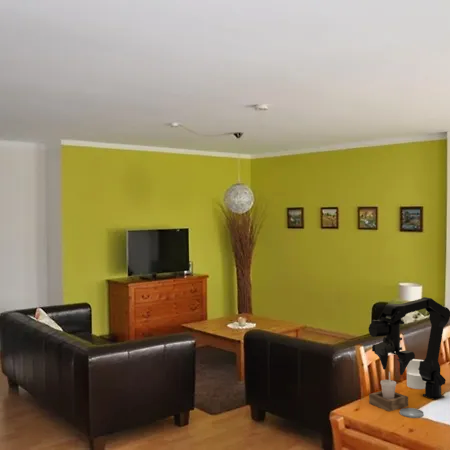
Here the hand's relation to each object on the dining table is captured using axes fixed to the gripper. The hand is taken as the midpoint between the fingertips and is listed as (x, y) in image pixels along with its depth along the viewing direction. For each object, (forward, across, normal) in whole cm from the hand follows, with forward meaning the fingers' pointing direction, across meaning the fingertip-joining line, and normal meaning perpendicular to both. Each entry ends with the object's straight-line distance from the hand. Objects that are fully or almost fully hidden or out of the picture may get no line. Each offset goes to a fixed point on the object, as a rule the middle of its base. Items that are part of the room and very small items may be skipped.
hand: (392, 372), depth 226 cm
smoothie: (+14, 0, -2) cm, 14 cm away
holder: (+13, 0, -2) cm, 14 cm away
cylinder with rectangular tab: (+13, -11, +27) cm, 32 cm away
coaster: (+13, +12, -2) cm, 18 cm away
